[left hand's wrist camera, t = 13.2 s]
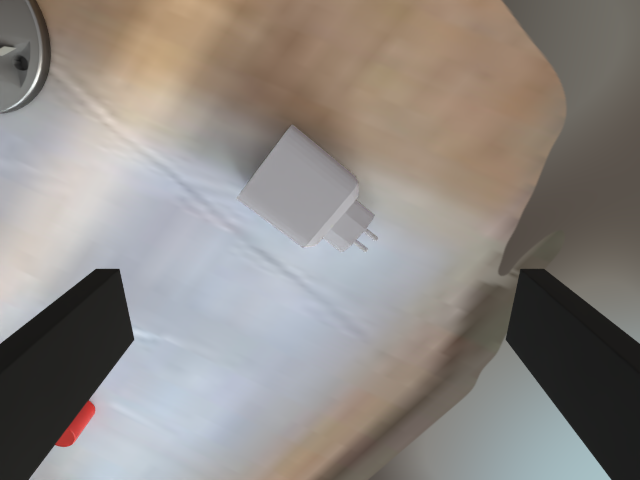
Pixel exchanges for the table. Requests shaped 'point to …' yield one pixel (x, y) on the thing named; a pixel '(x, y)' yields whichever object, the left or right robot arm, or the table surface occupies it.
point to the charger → (307, 195)
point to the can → (77, 425)
